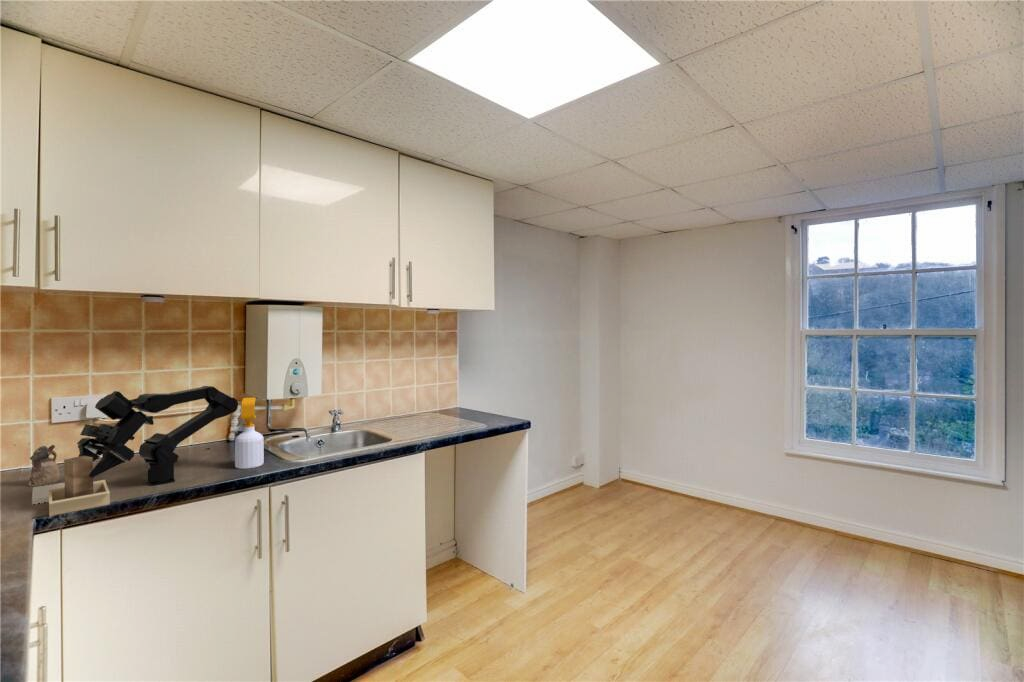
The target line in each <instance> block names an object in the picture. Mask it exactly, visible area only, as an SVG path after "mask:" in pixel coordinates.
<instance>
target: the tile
mask: <svg viewBox="0 0 1024 682" xmlns="http://www.w3.org/2000/svg"><path fill="white" fill-rule="evenodd" d="M64 486H65V481H64V482H56V483H53V484H49V485H44V486H35V487H32V493H31V494H32V495H31V506H34V505H33V504H35V505H39V504H38V503H40V504H45V503H44V502H46V503H49V489H52V488H58V487H64Z"/></svg>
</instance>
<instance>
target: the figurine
mask: <svg viewBox="0 0 1024 682" xmlns="http://www.w3.org/2000/svg"><path fill="white" fill-rule="evenodd" d="M55 448H56V445H55V444H51V445H50V446H49V447H48V446H46V445H41V446H39V447H38V448H36V449H35V450H34V451H33V454H32V456H30V457H29V460H31V465H32V466H31V467H32V468H31V470H30V476H29V479H28V486H29V485H30V487H32V486H35V487H39V486H42V485H44V486H45V485H48V484H49V485H51V484H52V483H53V484H57V483H59V481H60V478H61V473H60V469H59V466H58V463H57V460H56V459H57V457H58V456H57V453H56V451H55V450H54V449H55ZM50 455H53V457H50Z"/></svg>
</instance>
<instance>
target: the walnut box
mask: <svg viewBox="0 0 1024 682" xmlns="http://www.w3.org/2000/svg"><path fill="white" fill-rule="evenodd" d="M63 462H64V463H63V464H64V466H63V467H64V468H63V469H64V472H63V473H64V474H63V475H64V477H63V478H64V482H65V499H68V498H74V497H79V496H85V495H90V494H93V482H94V477H93V478H91V477H89V474H90V473H91V472H92V470H93V469H94V461H93V457H88V456H80V457H78V456H76V457H70V458H66V459H64V460H63Z"/></svg>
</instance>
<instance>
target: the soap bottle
mask: <svg viewBox="0 0 1024 682" xmlns="http://www.w3.org/2000/svg"><path fill="white" fill-rule="evenodd" d="M256 399H257V397H244V398H242V401H241V420H244V421H245V422H246V424H244V425H243V432H241V433H239V434H238V435H237V436H236V437H235V439H234V466H235V468H236V469H240V470H245V469H246V470H249V469H255V468H258V467H260V466H263V465H264V462H265V461H264V458H265V456H264V453H265V451H264V450H265V449H264V442H265V440H264V438H265V437H264V436H263V434H262V433H260V432H258V431H256V430H255V424H254V423H253V421H254V419H256V418H257V415H255V414H256V412H255V411H256V410H255V409H256V408H255V405H256Z"/></svg>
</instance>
